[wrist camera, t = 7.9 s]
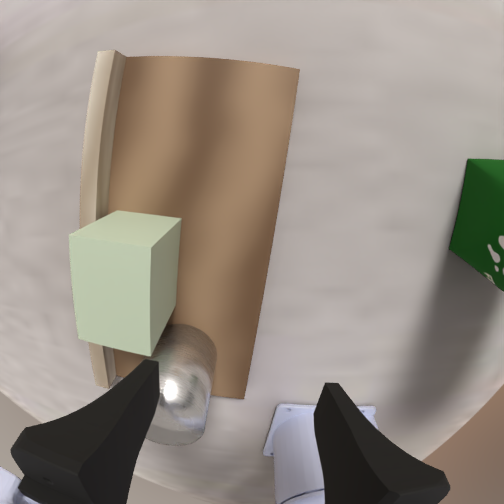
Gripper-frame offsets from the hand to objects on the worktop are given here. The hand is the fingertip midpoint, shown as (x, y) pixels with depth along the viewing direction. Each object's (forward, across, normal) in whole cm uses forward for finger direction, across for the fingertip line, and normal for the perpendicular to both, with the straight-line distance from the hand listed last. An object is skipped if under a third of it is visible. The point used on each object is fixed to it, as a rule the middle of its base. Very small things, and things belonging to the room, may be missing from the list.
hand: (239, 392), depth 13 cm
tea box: (+9, +7, -2) cm, 11 cm away
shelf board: (+10, +5, -3) cm, 11 cm away
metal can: (+9, +4, +5) cm, 11 cm away
